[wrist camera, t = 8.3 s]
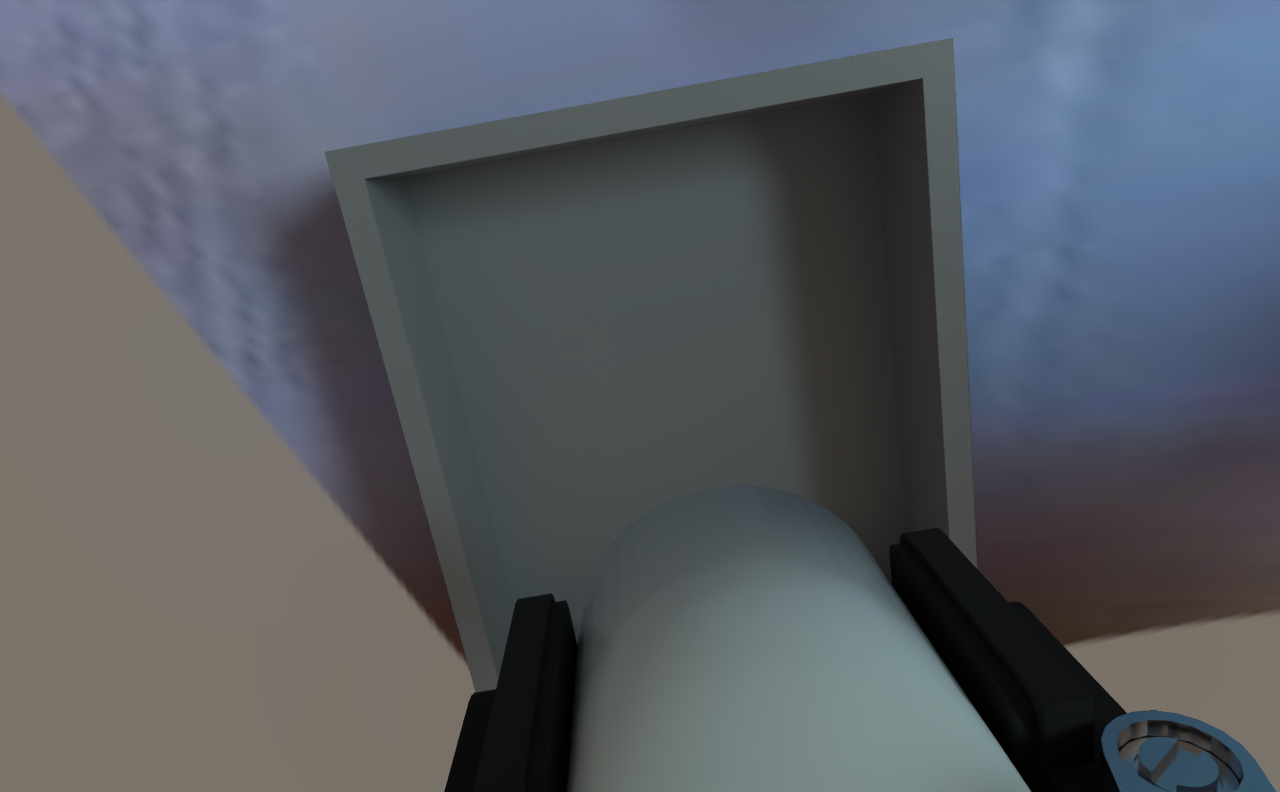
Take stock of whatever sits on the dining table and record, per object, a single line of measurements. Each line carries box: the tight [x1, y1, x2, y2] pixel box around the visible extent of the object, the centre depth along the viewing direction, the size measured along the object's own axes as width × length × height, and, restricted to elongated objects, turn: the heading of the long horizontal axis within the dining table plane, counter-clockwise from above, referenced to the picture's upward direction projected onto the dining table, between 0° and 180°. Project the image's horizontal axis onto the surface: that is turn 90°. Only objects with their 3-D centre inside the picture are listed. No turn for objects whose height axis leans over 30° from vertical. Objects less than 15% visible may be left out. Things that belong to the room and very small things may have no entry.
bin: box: [325, 38, 977, 692], centre depth 24 cm, size 16×18×4 cm
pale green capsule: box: [566, 485, 1031, 792], centre depth 9 cm, size 5×5×6 cm
